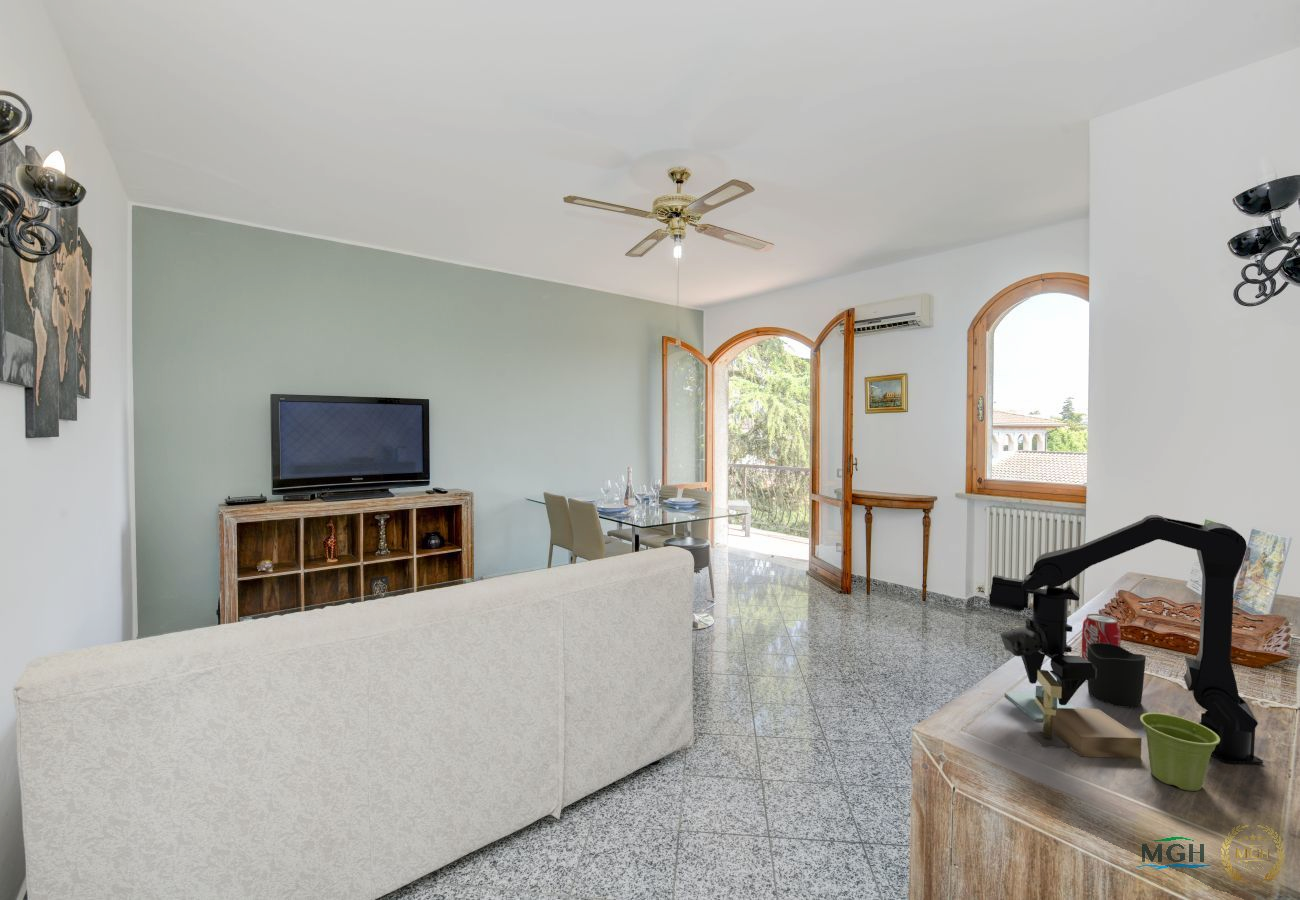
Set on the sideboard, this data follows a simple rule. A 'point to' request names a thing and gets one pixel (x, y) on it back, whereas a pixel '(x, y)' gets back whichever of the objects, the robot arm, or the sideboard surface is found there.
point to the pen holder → (1116, 675)
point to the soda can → (1099, 631)
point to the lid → (1033, 702)
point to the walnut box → (1090, 734)
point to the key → (1047, 700)
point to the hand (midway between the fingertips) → (1047, 693)
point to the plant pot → (1178, 749)
